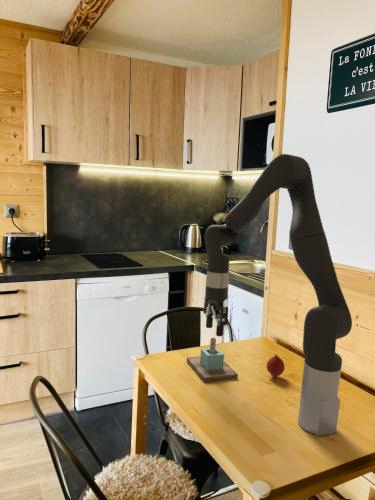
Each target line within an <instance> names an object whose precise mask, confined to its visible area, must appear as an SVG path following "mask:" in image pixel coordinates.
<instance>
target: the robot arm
mask: <svg viewBox="0 0 375 500" xmlns="http://www.w3.org/2000/svg"><path fill="white" fill-rule="evenodd" d="M266 165H267V166H266V167H265V168H264V169H263V171H262V172H261V174H260V175H259V176H258V178H257V179H256V181H255V182H254V184H253V185H252V186H251V187H250V188H249V190H248V191H247V193H246V194H245V195H244V196H243V197H242V198H241V199H240V201H238V203H237V204H236V205H234V207H232V209H231V210H230V211H229V212H228V213H227V214H226V215H225V216H224V217H225V218H224V224H211V225H210V226H208V227H207V228H206V230H205V233H204V237H203V238H204V245H205V249H206V255H207V272H206V277H205V278H206V279H205V290H204V293H205V294H204V295H205V296H204V301H203V303H204V304H203V314H204V315H205V317H206V319H205V321H206V322H205V327H206V329H210V328H213V325H214V324H213V323H214V320H215V323H216V327H215V329H216V332H215V335H216V336H217V337H222V336H224V327H225V326H227V325H228V322H229V320H228V319H229V307H228V306H224V305H225V304H224V302H225V301H227V300H228V297H229V285H230V284H229V283H230V281H229V280H230V278H229V277H230V276H229V274H230V273H229V270H230V257H229V255H228V254H226V253H223V251H222V250H223V249H222V247H228V246H231V245H233V244H234V243H235V242H236V241H237V240H238V239H239V237H240V236H241V234H242V232H243V230H244V229H245V228H247V227H248V226H249V225H250V224H251V223H252V222H253V221H254V220H255V219H256V218H257V217H258V216H259V213H260V212H261V210H262V208H263V205H264V203H265V202H266V200H267V199H268V198H269V197H270V196H271V195H272V194H274V193H275V192H277V191H279V190H280V189H286V190H287V192H288V195H289V198H290V202H291V208H292V214H291V215H292V216H291V221H290V227H289V228H290V229H289V241H290V244H291V248H292V253H293V257H294V259H295V262H296V263H297V266H298V267H299V268H300V270H301V271H302V273H304V275H305V276H306V279H308V280H309V282H310V284H311V285H312V287H313V289H314V293H315V296H316V298H317V302H318V305H317V306H314V307H312V308H311V309H309V310H308V312H307V313H306V315H305V318H304V322H303V335H302V336H303V339H302V351H303V355H304V361H303V362H304V363H303V370H302V371H303V372H302V378H301V379H302V380H301V390H300V399H299V400H300V401H299V407H298V409H299V410H298V418H297V423H298V425H299V426H300V428H302V429H303V430H305V431H306V432H308V433H311V434H314V436H316V437H321V436H325V435H330V434H331V435H332V434H336V433H337V429H338V420H339V412H340V407H341V406H340V404H341V399H340V398H339V390H340V389H339V388H340V379H341V371H342V364H343V358H342V356H341V354H339V353H337V352H336V348H337V346H336V345H337V340H338V339H342V338H344V337H347V336H348V334H350V332H351V331H352V328H353V319H352V314H351V311H350V309H349V307H348V306H349V305H348V303H347V301H346V298H345V297H344V296H345V295H344V294H343V291H342V288H341V285H340V283H339V279H338V276H337V273H336V268H335V265H334V263H333V259H332V255H331V250H330V247H329V243H328V239H327V236H326V232H325V230H324V226H323V223H322V219H321V215H320V210H319V207H318V203H317V199H316V194H315V187H314V182H313V175H312V170H311V167H310V164H309V163H308V161H307V160H306V159H305V158H303V157H301V156H298V155H293V154H287V153H281V154H278V155H276V156H274V157H273V158H272V159H271V161H269V163H268V164H266Z"/></svg>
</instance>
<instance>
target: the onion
mask: <svg viewBox="0 0 375 500" xmlns="http://www.w3.org/2000/svg"><path fill="white" fill-rule="evenodd" d="M266 369H267V372H269V374H270V375H271V376H272V377H273V378H276V377H279V376H281V375H282V374H283V373H284V372H285V363H284V360H283V359H282V358H280V357H279V355H278V354H277V353H274V355H273V356H272V357H270V358H269V359H268V361H267V363H266Z"/></svg>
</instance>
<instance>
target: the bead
mask: <svg viewBox="0 0 375 500" xmlns="http://www.w3.org/2000/svg"><path fill="white" fill-rule="evenodd" d="M199 356H200V363H201V364H202V365H203V366H204V368H205V369H206V370H213V369H222V368H223V363H224V361H225V353H224V352H223V351H221V350H220V349H219V348H218V347H215V354H210V347H209V348H200V355H199Z"/></svg>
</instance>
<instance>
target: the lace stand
mask: <svg viewBox="0 0 375 500" xmlns="http://www.w3.org/2000/svg"><path fill="white" fill-rule="evenodd" d="M209 343H210V344H209V348H210V354H215V348H216V347H217V345H216V343H217V339H216V338H215V337H211V339H210V341H209ZM200 356H201V355H199V356H191V357H190V356H189V357H186V362H187V364H188V365H189V366H190V367H191V369H192V370H193V371H194V372H195V373H196V375H197V376H198V377H199V378H200V379H201V380H202V382H204V383H207V382H208V383H210V382H216V381H225V380H233V379H238V375H239V374H238V373H237V372H236V370H235V369H233V368H232V367H231V366H230V365H229V364H228V363H227V362H226V361H225V360H224V363H223V368H222V369H213V370H206V369H205V368H204V366H203V365H202V364H201V363H200Z"/></svg>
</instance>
